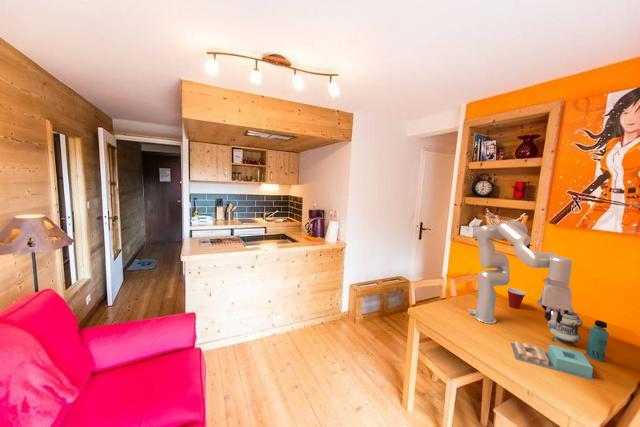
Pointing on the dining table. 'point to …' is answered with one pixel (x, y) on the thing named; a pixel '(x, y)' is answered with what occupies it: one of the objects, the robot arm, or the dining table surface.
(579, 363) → the teal dock
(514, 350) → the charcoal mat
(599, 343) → the beverage bottle
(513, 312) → the dining table surface
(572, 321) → the apothecary jar
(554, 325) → the steel pin
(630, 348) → the dining table surface
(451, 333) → the dining table surface
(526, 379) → the dining table surface
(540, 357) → the ash mount
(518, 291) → the plastic cup
